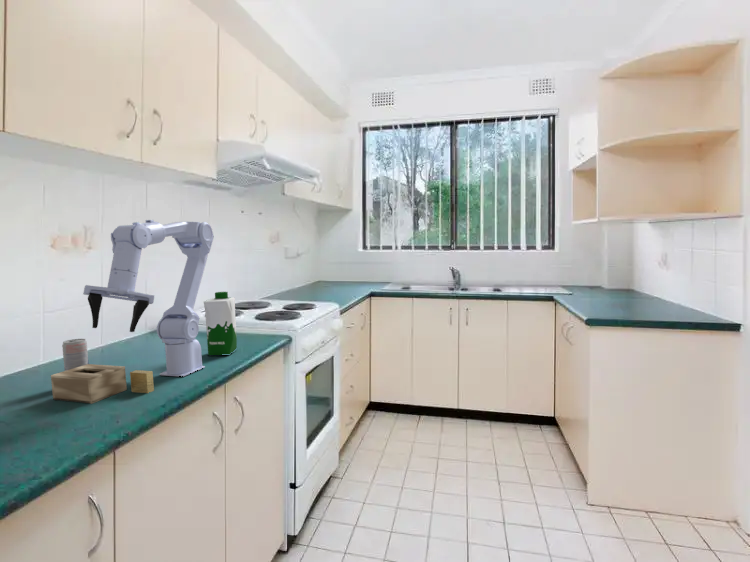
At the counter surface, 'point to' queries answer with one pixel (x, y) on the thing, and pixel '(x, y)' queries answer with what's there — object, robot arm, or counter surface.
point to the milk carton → (220, 324)
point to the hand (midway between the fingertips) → (113, 329)
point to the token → (142, 381)
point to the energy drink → (75, 353)
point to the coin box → (88, 383)
